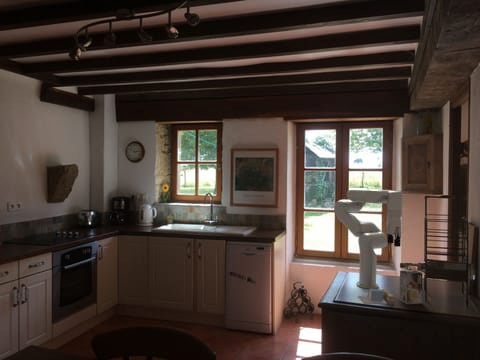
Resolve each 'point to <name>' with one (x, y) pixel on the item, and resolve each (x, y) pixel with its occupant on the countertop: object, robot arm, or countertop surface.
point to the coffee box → (411, 287)
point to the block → (375, 294)
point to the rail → (388, 297)
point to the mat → (367, 300)
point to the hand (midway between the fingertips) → (393, 244)
